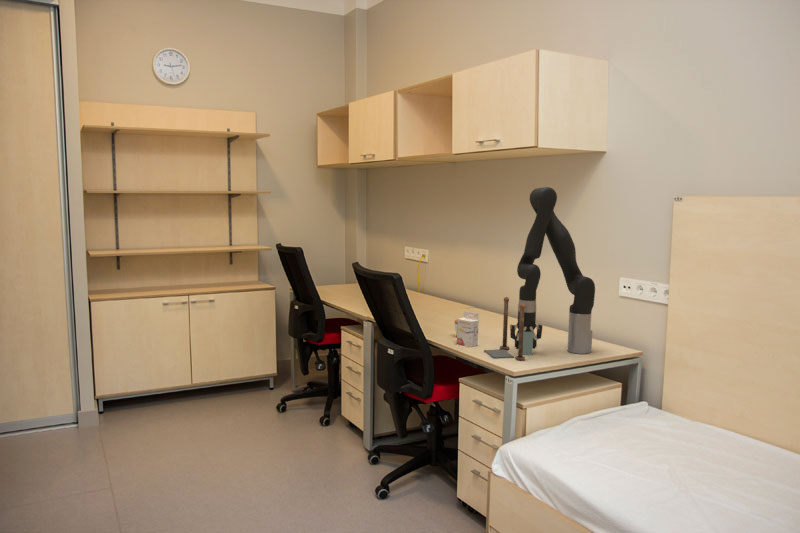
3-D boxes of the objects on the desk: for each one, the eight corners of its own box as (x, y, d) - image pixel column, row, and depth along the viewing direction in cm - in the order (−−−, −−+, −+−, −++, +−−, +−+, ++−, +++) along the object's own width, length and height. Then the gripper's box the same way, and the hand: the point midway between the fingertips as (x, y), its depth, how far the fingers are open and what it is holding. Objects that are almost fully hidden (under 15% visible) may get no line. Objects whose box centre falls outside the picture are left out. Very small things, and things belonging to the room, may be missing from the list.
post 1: (507, 347, 267) (509, 296, 265) (510, 350, 263) (512, 297, 261) (498, 348, 266) (500, 296, 264) (501, 350, 262) (503, 297, 260)
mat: (503, 350, 262) (503, 349, 261) (513, 357, 250) (514, 356, 250) (483, 351, 260) (483, 350, 260) (493, 358, 248) (493, 357, 248)
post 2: (522, 358, 249) (525, 303, 247) (526, 360, 246) (528, 304, 243) (513, 358, 249) (515, 303, 246) (517, 361, 245) (519, 304, 242)
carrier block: (528, 352, 260) (529, 329, 259) (532, 354, 255) (533, 331, 254) (518, 352, 259) (519, 329, 258) (522, 355, 254) (523, 332, 253)
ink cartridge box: (456, 344, 273) (457, 312, 271) (462, 342, 277) (463, 310, 275) (471, 347, 267) (472, 314, 266) (478, 345, 271) (479, 313, 269)
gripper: (539, 308, 260) (537, 346, 262) (507, 308, 257) (506, 346, 259) (546, 311, 253) (544, 350, 255) (514, 312, 250) (512, 351, 252)
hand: (525, 348), depth 257 cm, fingers open, 6 cm apart
